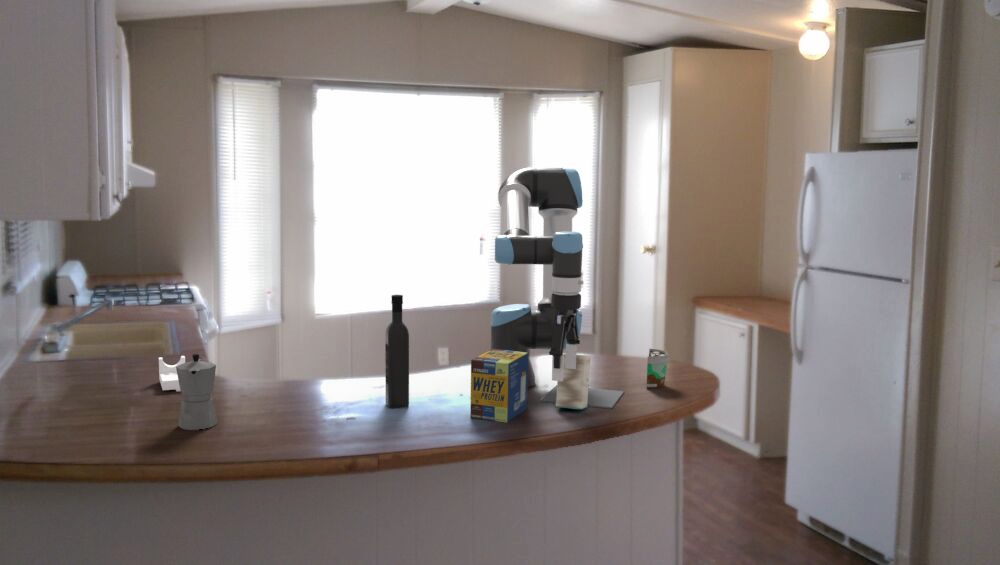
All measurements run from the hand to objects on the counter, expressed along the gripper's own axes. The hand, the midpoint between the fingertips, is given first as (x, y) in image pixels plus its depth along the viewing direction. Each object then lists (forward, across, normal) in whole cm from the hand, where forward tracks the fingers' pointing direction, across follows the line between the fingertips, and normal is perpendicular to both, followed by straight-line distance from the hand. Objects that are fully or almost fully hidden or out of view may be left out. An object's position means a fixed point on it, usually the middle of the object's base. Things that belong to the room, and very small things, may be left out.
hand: (564, 374), depth 237 cm
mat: (+12, +22, 0) cm, 25 cm away
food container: (+12, +43, -18) cm, 48 cm away
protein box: (+12, -1, +17) cm, 21 cm away
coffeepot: (+12, -38, +84) cm, 93 cm away
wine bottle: (+12, -4, +45) cm, 47 cm away
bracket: (+12, -9, +113) cm, 114 cm away
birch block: (+11, +9, 0) cm, 14 cm away
